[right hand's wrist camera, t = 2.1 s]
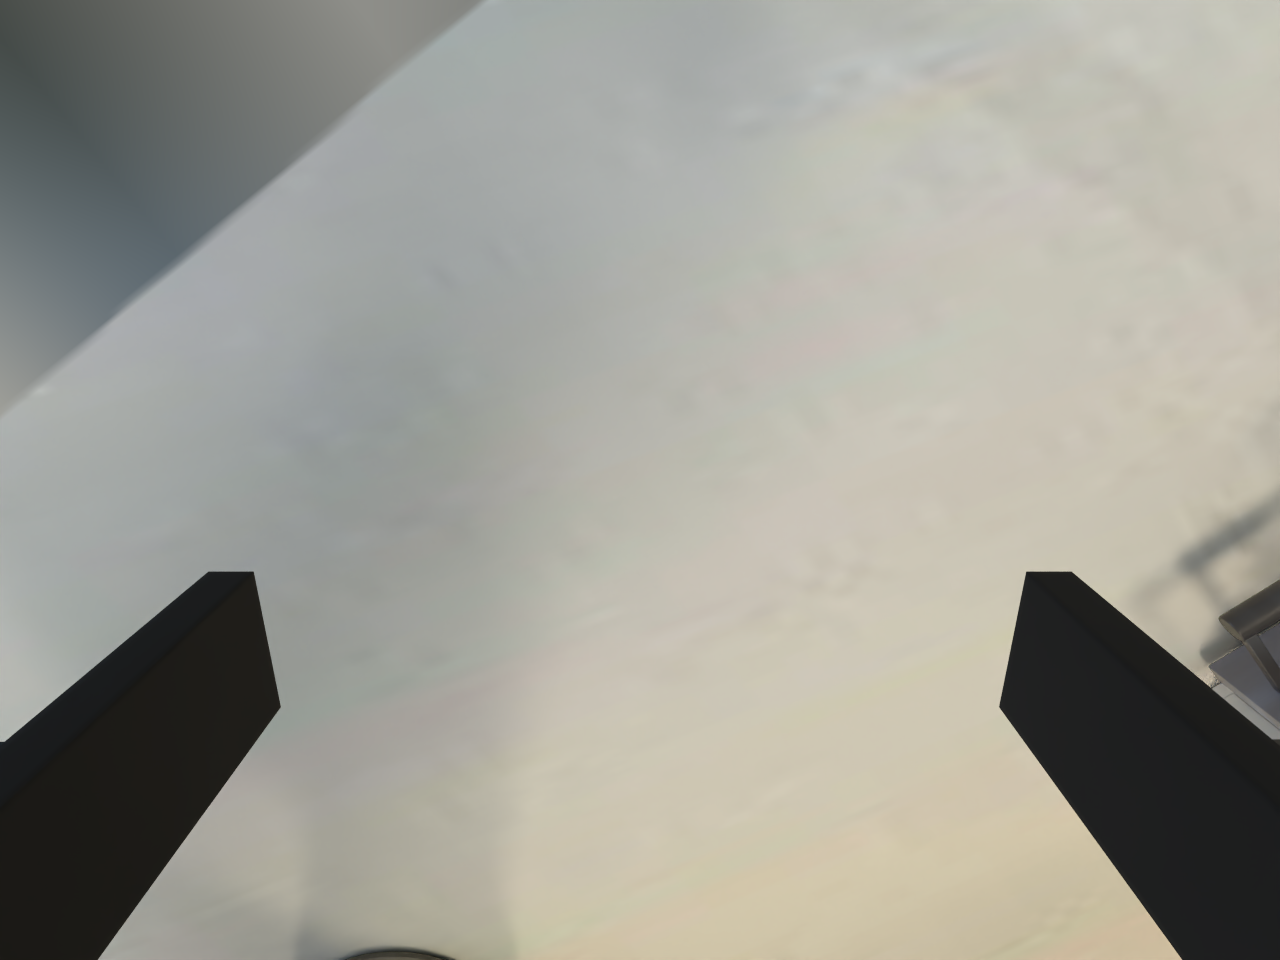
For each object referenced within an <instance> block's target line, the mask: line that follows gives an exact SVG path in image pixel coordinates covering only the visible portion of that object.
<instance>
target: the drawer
mask: <svg viewBox="0 0 1280 960" xmlns="http://www.w3.org/2000/svg"><path fill="white" fill-rule="evenodd" d="M1279 620H1280V580H1278V581H1277V582H1275V583H1273V584H1272V585H1270V586H1269V587H1267V588H1265V589H1264V590H1262V591H1260V592H1259V593H1257V594H1256V595H1254V596H1252V597H1251V598H1249V599H1247V600H1246V601H1244V602H1242V603H1241V604H1239V605H1238V606H1236V607H1234V608H1233V609H1231V610H1229V611H1228V612H1226V613H1224V614H1223V615H1221V616H1220V617H1219V621H1220V622H1221V624H1222V625H1223V626H1224V627H1225V629H1226V630H1227V631H1228V632H1229V633H1230V634H1232V635H1233V636H1234V637H1235V638H1237V639H1238V640H1240V641H1242V642H1243V644H1244V645H1242V646H1241V647H1239V648H1237V649H1236V650H1234V651H1232V652H1231V653H1229V654H1227V655H1226V656H1224V657H1222V658H1221V659H1219V660H1217V661H1216V662H1214V663H1212V664H1211V665H1209V668H1210V669H1211V671H1212V672H1213V674H1214V675H1215V677H1216V678H1217V679H1218V680H1219V681H1220V682H1221V683H1222V684H1224V685H1225V686H1226V687H1227V688H1229V689H1230V690H1231V691H1232V692H1233V693H1235V694H1236V695H1237V696H1238V697H1240V698H1241V699H1242V700H1243V701H1245V702H1246V703H1247V704H1248V705H1250V706H1251V707H1252V708H1253V709H1255V710H1256V711H1257V712H1258V713H1260V714H1261V715H1262V716H1263V717H1264V718H1266V719H1267V720H1268V721H1269V722H1271V723H1272V724H1273V725H1274V726H1276V727H1277V728H1278V729H1279V730H1280V623H1279V624H1278V625H1276V626H1274V627H1273V628H1271V629H1269V630H1268V631H1266V632H1264V633H1263V634H1261V635H1259V636H1258V635H1257V633H1259V632H1261V631H1262V630H1264V629H1266V628H1267V627H1269V626H1271V625H1272V624H1274V623H1276V622H1277V621H1279Z"/></svg>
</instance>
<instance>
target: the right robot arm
mask: <svg viewBox="0 0 1280 960" xmlns="http://www.w3.org/2000/svg"><path fill="white" fill-rule="evenodd" d="M280 707H281V706H280V701H279V696H278V691H277V686H276V681H275V676H274V671H273V666H272V661H271V656H270V651H269V646H268V641H267V636H266V631H265V626H264V621H263V616H262V611H261V606H260V601H259V596H258V591H257V586H256V581H255V576H254V572H208V573H206V574H205V575H204V576H203V577H202V578H200V579H199V580H198V581H197V582H196V583H194V584H193V585H192V586H191V587H190V588H188V589H187V590H186V591H185V592H184V593H182V594H181V595H180V596H179V597H178V598H176V599H175V600H174V601H173V602H172V603H170V604H169V605H168V606H167V607H166V608H164V609H163V610H162V611H161V612H160V613H158V614H157V615H156V616H155V617H154V618H152V619H151V620H150V621H149V622H148V623H146V624H145V625H144V626H143V627H142V628H141V629H139V630H138V631H137V632H136V633H135V634H133V635H132V636H131V637H130V638H129V639H127V640H126V641H125V642H124V643H123V644H121V645H120V646H119V647H118V648H117V649H115V650H114V651H113V652H112V653H111V654H109V655H108V656H107V657H106V658H105V659H103V660H102V661H101V662H100V663H99V664H97V665H96V666H95V667H94V668H93V669H91V670H90V671H89V672H88V673H87V674H85V675H84V676H83V677H82V678H81V679H79V680H78V681H77V682H76V683H75V684H73V685H72V686H71V687H70V688H69V689H67V690H66V691H65V692H64V693H63V694H61V695H60V696H59V697H58V698H57V699H55V700H54V701H53V702H52V703H51V704H49V705H48V706H47V707H46V708H45V709H44V710H42V711H41V712H40V713H39V714H38V715H36V716H35V717H34V718H33V719H32V720H30V721H29V722H28V723H27V724H26V725H24V726H23V727H22V728H21V729H20V730H18V731H17V732H16V733H15V734H14V735H12V736H11V737H10V738H9V739H8V740H6V741H5V742H0V960H98V958H99V957H100V956H101V954H102V953H103V952H104V950H105V949H106V947H107V946H108V945H109V943H110V942H111V941H112V939H113V938H114V936H115V935H116V934H117V932H118V931H119V930H120V928H121V927H122V925H123V924H124V923H125V921H126V920H127V918H128V917H129V916H130V914H131V913H132V912H133V910H134V909H135V907H136V906H137V905H138V903H139V902H140V901H141V899H142V898H143V896H144V895H145V894H146V892H147V891H148V890H149V888H150V887H151V885H152V884H153V883H154V881H155V880H156V878H157V877H158V876H159V874H160V873H161V872H162V870H163V869H164V867H165V866H166V865H167V863H168V862H169V861H170V859H171V858H172V856H173V855H174V854H175V852H176V851H177V850H178V848H179V847H180V845H181V844H182V843H183V841H184V840H185V838H186V837H187V836H188V834H189V833H190V832H191V830H192V829H193V827H194V826H195V825H196V823H197V822H198V821H199V819H200V818H201V816H202V815H203V814H204V812H205V811H206V809H207V808H208V807H209V805H210V804H211V803H212V801H213V800H214V798H215V797H216V796H217V794H218V793H219V792H220V790H221V789H222V787H223V786H224V785H225V783H226V782H227V781H228V779H229V778H230V776H231V775H232V774H233V772H234V771H235V769H236V768H237V767H238V765H239V764H240V763H241V761H242V760H243V758H244V757H245V756H246V754H247V753H248V752H249V750H250V749H251V747H252V746H253V745H254V743H255V742H256V741H257V739H258V738H259V736H260V735H261V734H262V732H263V731H264V729H265V728H266V727H267V725H268V724H269V723H270V721H271V720H272V718H273V717H274V716H275V714H276V713H277V712H278V710H279V709H280ZM999 707H1000V709H1001V710H1002V712H1003V713H1004V714H1005V716H1006V717H1007V718H1008V720H1009V721H1010V723H1011V724H1012V725H1013V727H1014V728H1015V729H1016V731H1017V732H1018V734H1019V735H1020V736H1021V738H1022V739H1023V741H1024V742H1025V743H1026V745H1027V746H1028V747H1029V749H1030V750H1031V752H1032V753H1033V754H1034V756H1035V757H1036V758H1037V760H1038V761H1039V763H1040V764H1041V765H1042V767H1043V768H1044V769H1045V771H1046V772H1047V774H1048V775H1049V776H1050V778H1051V779H1052V781H1053V782H1054V783H1055V785H1056V786H1057V787H1058V789H1059V790H1060V792H1061V793H1062V794H1063V796H1064V797H1065V798H1066V800H1067V801H1068V803H1069V804H1070V805H1071V807H1072V808H1073V809H1074V811H1075V812H1076V814H1077V815H1078V816H1079V818H1080V819H1081V821H1082V822H1083V823H1084V825H1085V826H1086V827H1087V829H1088V830H1089V832H1090V833H1091V834H1092V836H1093V837H1094V838H1095V840H1096V841H1097V843H1098V844H1099V845H1100V847H1101V848H1102V850H1103V851H1104V852H1105V854H1106V855H1107V856H1108V858H1109V859H1110V861H1111V862H1112V863H1113V865H1114V866H1115V867H1116V869H1117V870H1118V872H1119V873H1120V874H1121V876H1122V877H1123V878H1124V880H1125V881H1126V883H1127V884H1128V885H1129V887H1130V888H1131V890H1132V891H1133V892H1134V894H1135V895H1136V896H1137V898H1138V899H1139V901H1140V902H1141V903H1142V905H1143V906H1144V907H1145V909H1146V910H1147V912H1148V913H1149V914H1150V916H1151V917H1152V918H1153V920H1154V921H1155V923H1156V924H1157V925H1158V927H1159V928H1160V930H1161V931H1162V932H1163V934H1164V935H1165V936H1166V938H1167V939H1168V941H1169V942H1170V943H1171V945H1172V946H1173V947H1174V949H1175V950H1176V952H1177V953H1178V954H1179V956H1180V957H1181V958H1182V960H1280V739H1271V738H1270V737H1269V736H1268V735H1266V734H1265V733H1264V732H1263V731H1262V730H1260V729H1259V728H1258V727H1257V726H1256V725H1254V724H1253V723H1252V722H1251V721H1250V720H1248V719H1247V718H1246V717H1245V716H1244V715H1242V714H1241V713H1240V712H1239V711H1238V710H1236V709H1235V708H1234V707H1233V706H1232V705H1231V704H1229V703H1228V702H1227V701H1226V700H1225V699H1223V698H1222V697H1221V696H1220V695H1219V694H1217V693H1216V692H1215V691H1214V690H1213V689H1211V688H1210V687H1209V686H1208V685H1207V684H1205V683H1204V682H1203V681H1202V680H1201V679H1199V678H1198V677H1197V676H1196V675H1195V674H1193V673H1192V672H1191V671H1190V670H1189V669H1187V668H1186V667H1185V666H1184V665H1183V664H1181V663H1180V662H1179V661H1178V660H1177V659H1175V658H1174V657H1173V656H1172V655H1171V654H1169V653H1168V652H1167V651H1166V650H1165V649H1163V648H1162V647H1161V646H1160V645H1159V644H1157V643H1156V642H1155V641H1154V640H1153V639H1151V638H1150V637H1149V636H1148V635H1147V634H1145V633H1144V632H1143V631H1142V630H1141V629H1139V628H1138V627H1137V626H1136V625H1135V624H1134V623H1132V622H1131V621H1130V620H1129V619H1128V618H1126V617H1125V616H1124V615H1123V614H1122V613H1120V612H1119V611H1118V610H1117V609H1116V608H1114V607H1113V606H1112V605H1111V604H1110V603H1108V602H1107V601H1106V600H1105V599H1104V598H1102V597H1101V596H1100V595H1099V594H1098V593H1096V592H1095V591H1094V590H1093V589H1092V588H1090V587H1089V586H1088V585H1087V584H1086V583H1084V582H1083V581H1082V580H1081V579H1080V578H1078V577H1077V576H1076V575H1075V574H1074V573H1072V572H1026V576H1025V581H1024V586H1023V591H1022V596H1021V601H1020V606H1019V611H1018V616H1017V621H1016V626H1015V631H1014V636H1013V641H1012V646H1011V651H1010V656H1009V661H1008V666H1007V671H1006V676H1005V681H1004V686H1003V691H1002V696H1001V701H1000V706H999ZM346 960H444V959H441V958H437V957H433V956H429V955H424V954H419V953H410V952H377V953H370V954H364V955H360V956H356V957H352V958H349V959H346Z"/></svg>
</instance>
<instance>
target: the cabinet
mask: <svg viewBox="0 0 1280 960" xmlns="http://www.w3.org/2000/svg"><path fill="white" fill-rule="evenodd" d="M1212 689H1213V690H1214V691H1215V692H1216V693H1217V694H1219V695H1220V696H1221V697H1222V698H1223V699H1225V700H1226V701H1227V702H1228V703H1229V704H1231V705H1232V706H1233V707H1234V708H1235V709H1236V710H1238V711H1239V712H1240V713H1241V714H1242V715H1244V716H1245V717H1246V718H1247V719H1248V720H1250V721H1251V722H1252V723H1253V724H1254V725H1256V726H1257V727H1258V728H1259V729H1260V730H1262V731H1263V732H1264V733H1265V734H1266V735H1268V736H1269V737H1270V738H1271V739H1280V730H1279V729H1278V728H1277V727H1276V726H1274V725H1273V724H1272V723H1271V722H1269V721H1268V720H1267V719H1266V718H1264V717H1263V716H1262V715H1261V714H1260V713H1258V712H1257V711H1256V710H1255V709H1253V708H1252V707H1251V706H1250V705H1248V704H1247V703H1246V702H1245V701H1243V700H1242V699H1241V698H1240V697H1238V696H1237V695H1236V694H1235V693H1233V692H1232V691H1231V690H1230V689H1229V688H1227V687H1226V686H1225V685H1224V684H1222V683H1220V684H1219V685H1217V686H1215V687H1214V688H1212Z"/></svg>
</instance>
